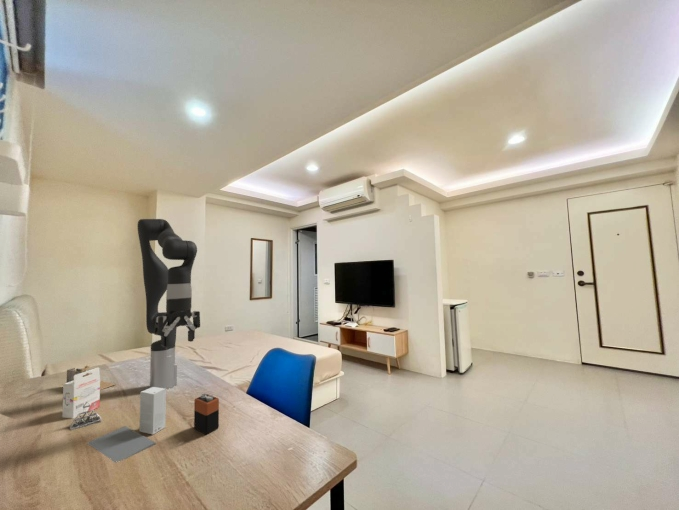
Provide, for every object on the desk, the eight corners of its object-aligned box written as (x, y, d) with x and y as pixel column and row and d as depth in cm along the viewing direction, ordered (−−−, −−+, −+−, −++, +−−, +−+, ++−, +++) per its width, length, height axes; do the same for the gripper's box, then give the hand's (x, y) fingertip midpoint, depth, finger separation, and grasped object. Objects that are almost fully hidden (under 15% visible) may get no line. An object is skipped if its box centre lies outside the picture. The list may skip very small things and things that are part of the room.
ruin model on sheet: (116, 384, 119) (116, 362, 119) (68, 401, 103) (69, 375, 104) (84, 377, 128) (85, 357, 129) (36, 391, 113) (37, 368, 113)
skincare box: (166, 427, 83) (166, 388, 84) (152, 435, 79) (153, 394, 79) (152, 424, 85) (153, 386, 85) (138, 431, 81) (139, 391, 81)
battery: (206, 435, 78) (206, 400, 79) (193, 429, 81) (193, 395, 82) (219, 428, 82) (219, 395, 82) (206, 422, 85) (207, 390, 86)
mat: (124, 428, 83) (125, 426, 83) (155, 444, 74) (155, 442, 74) (68, 453, 71) (68, 451, 72) (96, 476, 63) (96, 473, 63)
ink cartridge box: (89, 406, 98) (90, 366, 99) (100, 407, 97) (101, 366, 98) (60, 418, 89) (62, 374, 90) (72, 420, 88) (74, 375, 89)
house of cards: (105, 412, 93) (106, 390, 94) (108, 421, 88) (109, 398, 88) (69, 423, 87) (70, 399, 88) (69, 434, 81) (70, 408, 82)
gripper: (192, 295, 99) (192, 338, 98) (150, 298, 87) (149, 348, 86) (204, 295, 96) (204, 340, 94) (163, 299, 83) (161, 351, 82)
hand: (178, 344), depth 90 cm, fingers open, 8 cm apart
